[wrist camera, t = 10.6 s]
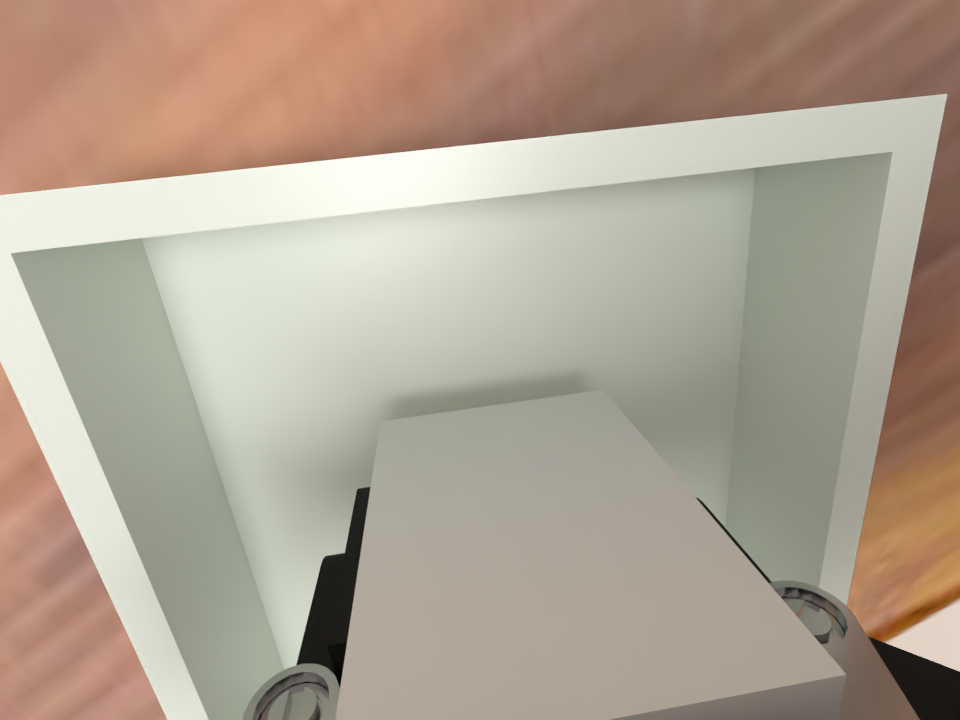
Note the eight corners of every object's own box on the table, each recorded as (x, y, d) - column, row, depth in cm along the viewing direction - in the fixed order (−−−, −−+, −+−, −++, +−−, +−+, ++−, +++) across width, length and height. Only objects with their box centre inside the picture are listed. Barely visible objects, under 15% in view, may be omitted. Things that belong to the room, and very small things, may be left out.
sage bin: (769, 119, 13) (947, 93, 8) (726, 605, 18) (820, 736, 14) (106, 191, 11) (-73, 203, 7) (276, 685, 17) (230, 854, 13)
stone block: (603, 389, 12) (846, 674, 5) (606, 565, 13) (789, 945, 7) (380, 421, 11) (327, 772, 5) (414, 597, 13) (410, 1031, 6)
